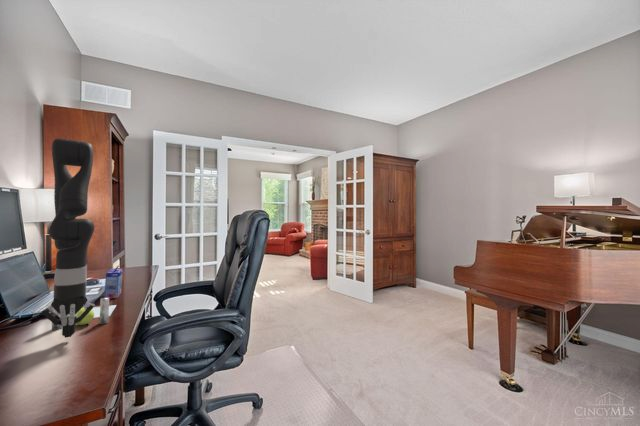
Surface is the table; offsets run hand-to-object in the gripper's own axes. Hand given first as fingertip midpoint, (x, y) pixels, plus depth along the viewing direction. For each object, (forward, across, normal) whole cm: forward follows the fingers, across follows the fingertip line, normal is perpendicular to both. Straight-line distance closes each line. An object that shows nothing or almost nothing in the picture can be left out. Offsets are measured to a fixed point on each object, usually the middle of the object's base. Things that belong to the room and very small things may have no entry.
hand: (68, 336), depth 87 cm
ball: (-2, 0, -14) cm, 14 cm away
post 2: (+2, -7, -13) cm, 15 cm away
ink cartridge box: (+2, -3, -51) cm, 51 cm away
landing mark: (+2, 0, -27) cm, 27 cm away
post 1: (+2, +6, -13) cm, 15 cm away
